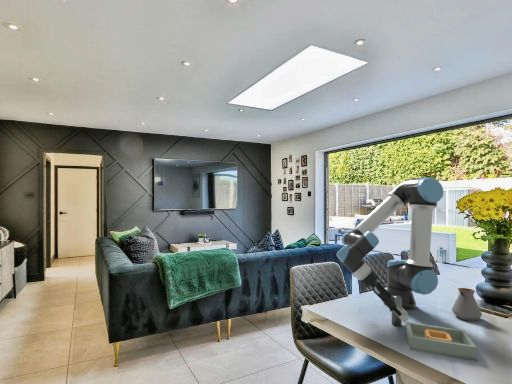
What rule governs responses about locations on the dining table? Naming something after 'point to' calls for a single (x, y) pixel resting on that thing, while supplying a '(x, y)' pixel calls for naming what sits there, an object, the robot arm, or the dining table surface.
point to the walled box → (440, 341)
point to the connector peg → (398, 302)
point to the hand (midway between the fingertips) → (405, 317)
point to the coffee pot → (466, 305)
